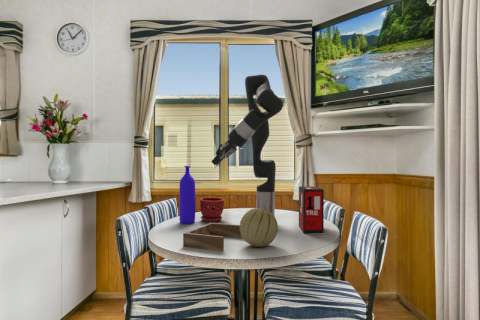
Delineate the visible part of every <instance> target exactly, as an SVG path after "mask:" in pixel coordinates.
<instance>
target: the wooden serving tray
mask: <svg viewBox="0 0 480 320" xmlns="http://www.w3.org/2000/svg"><path fill="white" fill-rule="evenodd" d="M182 236H183V237H182V247H184V248H195V249H202V250H211V251H219V252H220V251H221V252H223V251H225V250H224V247H225V243H224V242H225V241H224V240H225V239H224V238H225V237H231V238H232V237H234V238H242V236H241V233H240V224H232V223H231V224H230V223H220V222H219V223H218V222H209V223H207V224H205V225H202V226H198V227H197V228H196V227H195V228H194V229H191V230H188V231H185V232H183V235H182Z"/></svg>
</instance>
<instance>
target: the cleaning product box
mask: <svg viewBox="0 0 480 320" xmlns="http://www.w3.org/2000/svg"><path fill="white" fill-rule="evenodd" d="M324 192H325V191H324V189H323V188H320V187H318V186H298V227H299V229H300V230H301V231H302V233H303V234H304V235H305V234H308V233H325V232H324V229H325V228H324V222H325V221H324V217H325V216H324V208H325V207H324V205H325V204H324V203H325V202H324V201H325V200H324V199H325V198H324V196H325V195H324Z"/></svg>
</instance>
